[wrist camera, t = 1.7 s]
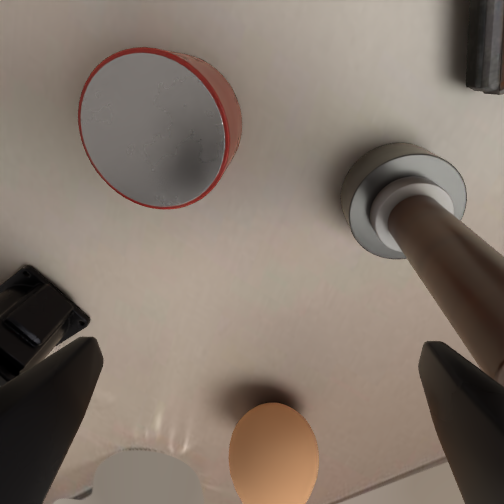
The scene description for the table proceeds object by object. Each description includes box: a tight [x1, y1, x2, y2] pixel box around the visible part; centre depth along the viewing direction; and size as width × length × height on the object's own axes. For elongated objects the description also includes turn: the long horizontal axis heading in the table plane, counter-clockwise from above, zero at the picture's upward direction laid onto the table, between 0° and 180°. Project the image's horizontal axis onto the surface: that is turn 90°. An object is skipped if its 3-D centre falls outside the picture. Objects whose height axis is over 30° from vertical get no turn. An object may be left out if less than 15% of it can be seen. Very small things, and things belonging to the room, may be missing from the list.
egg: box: [229, 403, 319, 504], centre depth 27 cm, size 7×7×8 cm
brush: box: [341, 143, 504, 386], centre depth 14 cm, size 6×6×14 cm
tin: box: [78, 47, 242, 209], centre depth 17 cm, size 7×7×5 cm
